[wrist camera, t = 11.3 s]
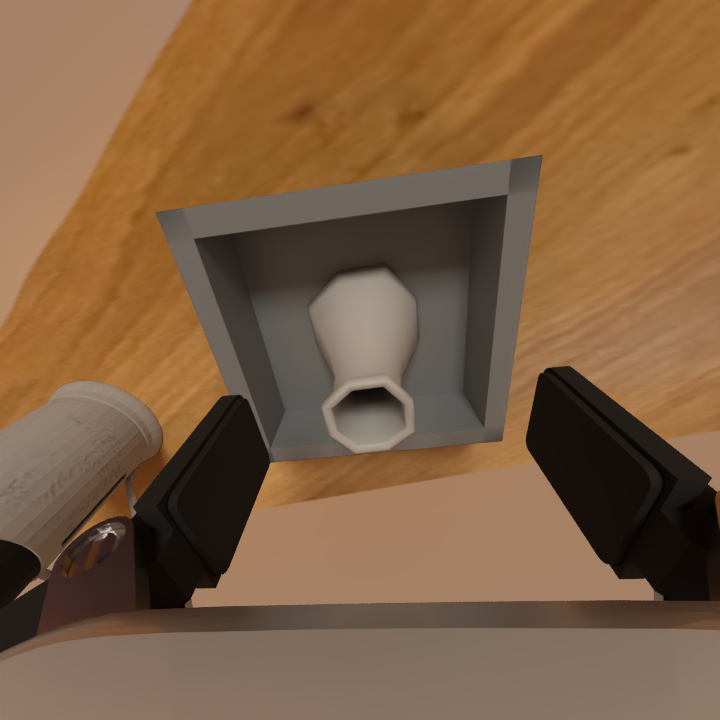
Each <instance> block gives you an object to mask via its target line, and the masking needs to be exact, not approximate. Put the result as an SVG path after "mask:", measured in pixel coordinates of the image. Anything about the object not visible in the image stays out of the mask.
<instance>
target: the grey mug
mask: <svg viewBox="0 0 720 720" xmlns="http://www.w3.org/2000/svg"><path fill="white" fill-rule="evenodd" d="M162 440H163V435H162V430H161V426H160V424H159V422H158V420H157V418H156V417H155V416H154V414H153V413H152V412H151V411H150V410H149V408H148V407H147V406H146V405H145V404H143V403H142V402H141V401H140V400H138V399H137V398H135V397H134V396H132V395H131V394H129V393H127V392H125V391H123V390H121V389H119V388H117V387H114V386H111V385H108V384H104V383H100V382H93V381H77V382H72V383H68V384H66V385H64V386H62V387H60V388H59V389H58V390H57V391H55V392H54V394H53V395H52V397H51V398H50V400H49V401H48V402H47V403H46V404H44V405H42V406H41V407H39V408H37V409H36V410H34V411H32V412H31V413H29V414H27V415H26V416H24V417H22V418H21V419H19V420H17V421H16V422H14V423H12V424H11V425H9V426H7V427H6V428H4V429H2V430H1V431H0V609H1V608H3V607H4V606H6V605H7V604H9V603H11V602H12V601H14V599H15V598H16V597H17V596H18V595H19V594H20V593H21V592H22V591H23V589H24V588H25V587H26V586H27V585H28V584H29V583H30V582H32V581H34V580H36V579H37V578H40V579H43V580H45V581H46V580H48V579H49V578H50V574H51V570H48V569H47V568H48V566H49V565H50V564H51V563H52V562H53V561H54V560H55V558H56V557H57V556H58V555H59V554H60V553H61V552H62V551H63V550H64V548H65V547H66V546H67V545H68V544H69V543H70V542H71V541H72V539H73V538H74V537H75V536H76V535H77V534H78V533H79V531H80V530H81V529H82V528H83V527H84V526H85V525H86V524H87V522H88V521H89V520H90V519H91V518H92V517H93V516H94V515H95V513H96V512H97V511H98V510H99V509H100V508H101V507H102V506H103V504H104V503H105V502H106V501H107V500H108V499H109V498H110V497H111V495H112V494H113V493H114V492H115V491H116V490H117V489H118V487H119V486H120V485H121V484H122V483H123V482H124V481H125V480H126V483H125V487H126V494H127V500H128V504H129V508H130V512H131V516H132V518H133V517H134V515H135V514H136V513H137V512H136V511H135V510H134V509H133V506H134V505H135V503H136V502H137V497H136V493H135V488H134V477H135V475H136V474H137V472H138V471H139V470H140V468H139V467H137V466H138V465H139V464H140V463H142V462H143V461H146V460H147V459H149V458H151V457H152V456H154V455H155V454H156V453H157V452H158V451H159V449H160V447H161V445H162ZM136 467H137V468H136ZM135 468H136V469H135ZM126 478H127V479H126Z"/></svg>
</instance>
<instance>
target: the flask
mask: <svg viewBox="0 0 720 720" xmlns="http://www.w3.org/2000/svg"><path fill="white" fill-rule="evenodd" d="M307 308H308V312H309V316H310V320H311V324H312V328H313V332H314V336H315V340H316V344H317V347H318V349H319V351H320V352H321V354H322V355H323V357H324V358H325V360H326V361H327V363H328V365H329V367H330V369H331V371H332V373H333V374H334V377H335V380H334V388H333V392H332V393H331V394H330V395H329V396H328V397H327V398H326V399H325V400H324V401H323V403H322V407H321V408H322V411H323V415H324V419H325V422H326V426H327V430H328V433H329V436H330V437H331V438H332V439H334V440H335V441H337V442H338V443H339V444H341V445H342V446H344V447H345V448H346V449H348V450H349V451H351V452H352V453H354V454H355V455H357V454H365V453H374V452H382V451H390V450H391V449H392V448H394V447H395V446H397V445H398V444H399V443H401V442H402V441H403V440H405V439H406V438H408V437H409V436H410V435H412V434H413V433H414V432H416V426H415V414H414V403H413V398H412V396H411V395H410V394H409V393H408V392H407V391H405V390H404V389H403V388H402V387H401V385H402V375H403V373H404V371H405V368H406V366H407V364H408V362H409V359H410V357H411V355H412V353H413V352H414V350H415V348H416V346H417V345H418V342H419V340H420V334H419V318H418V303H417V297H416V296H415V295H414V293H413V292H412V291H411V290H410V289H409V288H408V287H407V286H406V285H405V284H404V283H403V282H402V281H401V280H400V279H399V278H398V276H397V275H396V274H395V273H394V272H393V271H392V270H391V269H390V268H389V267H388V266H387V265H386V264H380V265H374V266H368V267H362V268H356V269H350V270H344V271H337V273H336V274H335V275H334V276H333V277H332V278H331V279H330V280H329V281H328V283H327V284H326V285H325V286H324V287H323V288H322V289H321V290H320V291H319V292H318V294H317V295H316V296H315V297H314V298H313V299H312V300H311V301H310V302H309V304H308V305H307Z"/></svg>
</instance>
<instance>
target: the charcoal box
mask: <svg viewBox="0 0 720 720" xmlns="http://www.w3.org/2000/svg"><path fill="white" fill-rule="evenodd" d="M541 162H542V155H539V156H532V157H525V158H518V159H512V160H505V161H498V162H491V163H485V164H478V165H471V166H464V167H458V168H451V169H444V170H437V171H431V172H424V173H417V174H410V175H404V176H397V177H390V178H383V179H376V180H370V181H363V182H356V183H349V184H343V185H336V186H329V187H322V188H316V189H309V190H302V191H295V192H289V193H282V194H275V195H268V196H262V197H255V198H248V199H241V200H235V201H228V202H221V203H214V204H208V205H201V206H194V207H187V208H181V209H174V210H167V211H160V212H156V215H157V217H158V220H159V222H160V224H161V227H162V229H163V232H164V234H165V237H166V239H167V242H168V244H169V247H170V249H171V251H172V254H173V256H174V259H175V261H176V264H177V266H178V269H179V271H180V274H181V276H182V279H183V281H184V283H185V286H186V288H187V291H188V293H189V296H190V298H191V301H192V303H193V306H194V308H195V310H196V313H197V315H198V318H199V320H200V323H201V325H202V328H203V330H204V333H205V335H206V338H207V340H208V342H209V345H210V347H211V350H212V352H213V355H214V357H215V360H216V362H217V365H218V367H219V369H220V372H221V374H222V377H223V379H224V382H225V384H226V387H227V389H228V392H229V394H230V395H241V396H242V397H243V398H245V399H247V400H248V401H249V403H250V406H251V409H252V411H253V414H254V417H255V419H256V422H257V424H258V427H259V430H260V432H261V435H262V437H263V440H264V443H265V445H266V448H267V450H268V453H269V456H270V463H271V462H282V461H293V460H304V459H314V458H325V457H336V456H347V455H355V454H354V453H352V452H351V451H349V450H348V449H346V448H345V447H344V446H342V445H341V444H339V443H338V442H337V441H335V440H334V439H332V438H331V437H330V436H329V433H328V430H327V426H326V422H325V419H324V415H323V411H322V408H321V407H322V403H323V401H324V400H325V399H326V398H327V397H328V396H329V395H330V394H331V393H332V392H333V388H334V380H335V377H334V374H333V373H332V371H331V369H330V367H329V365H328V363H327V361H326V360H325V358H324V357H323V355H322V354H321V352H320V351H319V349H318V347H317V344H316V340H315V336H314V332H313V328H312V324H311V320H310V316H309V312H308V308H307V305H308V304H309V302H310V301H311V300H312V299H313V298H314V297H315V296H316V295H317V294H318V292H319V291H320V290H321V289H322V288H323V287H324V286H325V285H326V284H327V283H328V281H329V280H330V279H331V278H332V277H333V276H334V275H335V274H336V273H337V271H344V270H350V269H356V268H362V267H368V266H374V265H380V264H386V265H387V266H388V267H389V268H390V269H391V270H392V271H393V272H394V273H395V274H396V275H397V276H398V278H399V279H400V280H401V281H402V282H403V283H404V284H405V285H406V286H407V287H408V288H409V289H410V290H411V291H412V292H413V293H414V295H415V296H416V297H417V303H418V318H419V334H420V340H419V342H418V345H417V346H416V348H415V350H414V352H413V353H412V355H411V357H410V359H409V362H408V364H407V366H406V368H405V371H404V373H403V375H402V385H401V387H402V388H403V389H404V390H405V391H407V392H408V393H409V394H410V395H411V396H412V398H413V403H414V414H415V426H416V432H414V433H413V434H412V435H410V436H409V437H408V438H406V439H405V440H403V441H402V442H401V443H399V444H398V445H397V446H395V447H394V448H392V449H391V450H390V451H401V450H411V449H422V448H433V447H444V446H454V445H465V444H476V443H487V442H498V441H502V438H503V431H504V424H505V417H506V410H507V403H508V396H509V389H510V381H511V374H512V367H513V360H514V353H515V346H516V339H517V332H518V325H519V318H520V311H521V304H522V296H523V289H524V282H525V275H526V268H527V261H528V254H529V247H530V240H531V233H532V226H533V219H534V211H535V204H536V197H537V190H538V183H539V176H540V169H541ZM390 451H382V452H390ZM374 453H379V452H374ZM365 454H368V453H365ZM357 455H358V454H357Z"/></svg>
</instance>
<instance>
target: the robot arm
mask: <svg viewBox="0 0 720 720" xmlns="http://www.w3.org/2000/svg"><path fill="white" fill-rule="evenodd" d="M526 445H527V448H528V450H529V452H530V453H531V455H532V456H533V458H534V459H535V461H536V462H537V464H538V465H539V467H540V468H541V470H542V472H543V473H544V475H545V476H546V478H547V479H548V481H549V482H550V483H551V485H552V487H553V488H554V490H555V491H556V493H557V494H558V496H559V497H560V499H561V501H562V502H563V504H564V505H565V507H566V508H567V510H568V511H569V513H570V514H571V516H572V517H573V519H574V520H575V522H576V524H577V525H578V527H579V528H580V530H581V531H582V533H583V534H584V536H585V537H586V539H587V540H588V542H589V543H590V545H591V546H592V548H593V549H594V551H595V553H596V554H597V555H598V557H599V558H600V559H601V560H602V561H603V562H604V563H606V564H609V565H610V566H611V568H612V569H613V570H614V572H615V574H616V575H617V576H618V578H619V579H644V578H646V580H647V581H648V582H649V583H650V585H651V586H652V588H653V589H654V601H629V600H626V601H625V600H622V601H621V600H615V601H614V600H609V601H607V600H606V601H513V602H440V603H376V604H375V603H374V604H322V605H321V604H318V605H276V606H275V605H273V606H228V607H199V608H193V606H192V601H191V597H192V595H193V593H194V590H195V588H216V586H217V584H218V581H219V579H220V577H221V574H224V573H225V572H226V571H227V569H228V568H229V566H230V563H231V561H232V558H233V556H234V553H235V551H236V548H237V546H238V543H239V541H240V538H241V536H242V533H243V531H244V528H245V526H246V523H247V520H248V518H249V516H250V513H251V511H252V508H253V506H254V503H255V500H256V498H257V495H258V493H259V490H260V488H261V485H262V483H263V480H264V478H265V475H266V473H267V470H268V468H269V464H270V456H269V453H268V450H267V448H266V445H265V443H264V440H263V437H262V435H261V432H260V430H259V427H258V424H257V422H256V419H255V417H254V414H253V411H252V409H251V406H250V403H249V401H248V400H247V399H245V398H243V397H242V396H241V395H229V396H222V397H221V398H220V399H219V400H218V401H217V402H216V404H215V405H214V406H213V407H212V409H211V410H210V411H209V412H208V414H207V415H206V416H205V417H204V419H203V420H202V421H201V422H200V424H199V425H198V426H197V427H196V429H195V430H194V431H193V432H192V434H191V435H190V436H189V437H188V439H187V440H186V441H185V442H184V444H183V445H182V446H181V447H180V449H179V450H178V451H177V452H176V454H175V455H174V456H173V457H172V458H171V460H170V461H169V462H168V463H167V465H166V466H165V467H164V468H163V470H162V471H161V472H160V473H159V475H158V476H157V477H156V478H155V480H154V481H153V482H152V483H151V485H150V486H149V487H148V488H147V490H146V491H145V492H144V493H143V495H142V496H141V497H140V498H139V500H138V501H137V502H136V503H135V505H134V506H133V509H134V510H135V511H136V512H137V513H136V514H135V515H134V517H133V518H132V519H129V518H128V517H125V516H117V517H113V518H109V519H106V520H104V521H102V522H100V523H97V524H96V525H94V526H92V527H91V528H89V529H88V530H86V531H85V532H83V533H82V534H81V535H80V536H78V537H77V538H76V539H75V540H73V541H72V542H71V543H70V544H69V545H68V546H67V548H66V549H65V550H64V551H63V552H62V553H61V555H60V556H59V557H58V559H57V560H56V562H55V563H54V566H53V568H52V571H51V574H50V578H49V579H48V580H46V581H45V582H43V583H41V584H40V585H38V586H37V587H35V588H33V589H32V590H30V591H28V592H27V593H25V594H24V595H22V596H20V597H19V598H17V599H16V600H14V601H12V602H11V603H9V604H7V605H6V606H4V607H3V608H1V609H0V720H720V491H718V492H717V491H715V490H714V489H713V488H711V487H710V486H709V485H708V483H709V482H710V480H711V478H712V477H710V476H709V475H708V474H706V473H705V472H704V471H703V470H701V469H700V468H699V467H698V466H696V465H695V464H694V463H693V462H691V461H690V460H689V459H687V458H686V457H685V456H684V455H682V454H681V453H680V452H679V451H677V450H676V449H674V448H673V447H672V446H671V445H670V444H668V443H667V442H666V441H665V440H663V439H662V438H661V437H660V436H658V435H657V434H656V433H654V432H653V431H652V430H651V429H649V428H648V427H647V426H646V425H644V424H643V423H642V422H640V421H639V420H638V419H637V418H635V417H634V416H633V415H632V414H630V413H629V412H628V411H626V410H625V409H624V408H623V407H621V406H620V405H619V404H618V403H616V402H615V401H614V400H612V399H611V398H610V397H609V396H607V395H606V394H605V393H604V392H602V391H601V390H600V389H599V388H597V387H596V386H595V385H593V384H592V383H591V382H590V381H588V380H587V379H586V378H585V377H583V376H582V375H581V374H579V373H578V372H577V371H576V370H574V369H573V368H571V367H570V366H564V367H552V368H547V369H546V370H545V371H544V373H541V374H540V375H539V377H538V381H537V386H536V391H535V396H534V401H533V406H532V411H531V416H530V421H529V426H528V431H527V436H526Z"/></svg>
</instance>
